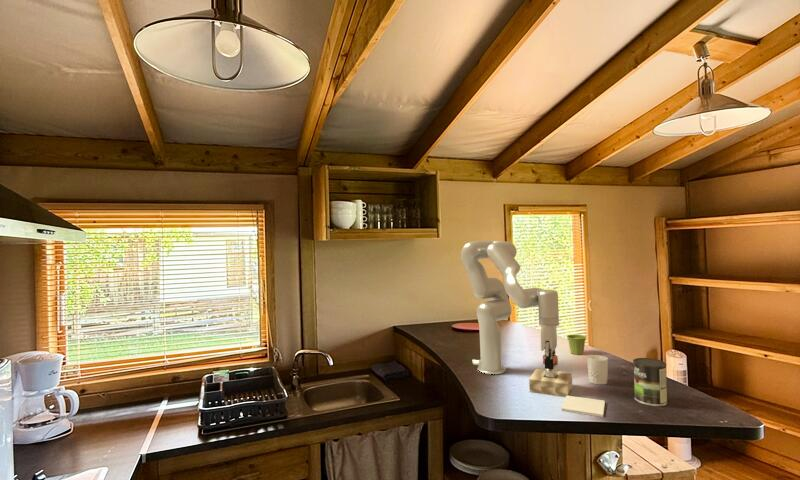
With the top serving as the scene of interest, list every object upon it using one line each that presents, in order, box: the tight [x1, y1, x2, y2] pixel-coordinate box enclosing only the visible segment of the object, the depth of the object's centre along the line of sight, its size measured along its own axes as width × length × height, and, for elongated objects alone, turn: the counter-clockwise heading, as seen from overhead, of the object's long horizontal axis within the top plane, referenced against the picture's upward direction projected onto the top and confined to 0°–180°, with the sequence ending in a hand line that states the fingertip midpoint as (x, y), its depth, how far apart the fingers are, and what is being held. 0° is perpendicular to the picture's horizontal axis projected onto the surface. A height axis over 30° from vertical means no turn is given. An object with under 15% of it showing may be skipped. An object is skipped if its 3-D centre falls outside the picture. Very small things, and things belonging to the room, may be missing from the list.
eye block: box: [528, 368, 573, 398], centre depth 166 cm, size 14×14×5 cm
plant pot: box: [566, 334, 587, 356], centre depth 213 cm, size 9×9×9 cm
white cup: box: [586, 354, 609, 386], centre depth 171 cm, size 8×8×10 cm
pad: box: [560, 395, 606, 418], centre depth 147 cm, size 13×13×1 cm
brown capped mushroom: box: [542, 354, 559, 379], centre depth 166 cm, size 6×6×13 cm
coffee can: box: [632, 357, 668, 407], centre depth 150 cm, size 10×10×14 cm
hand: (550, 366), depth 166 cm, fingers open, 5 cm apart
